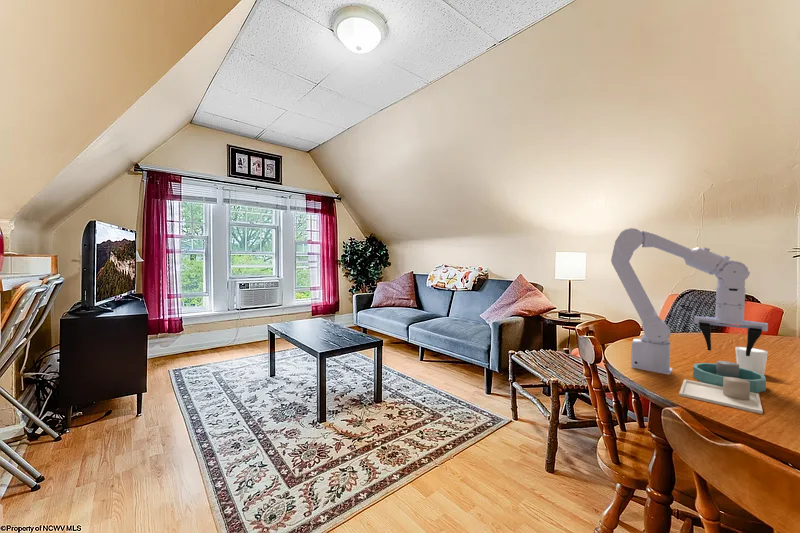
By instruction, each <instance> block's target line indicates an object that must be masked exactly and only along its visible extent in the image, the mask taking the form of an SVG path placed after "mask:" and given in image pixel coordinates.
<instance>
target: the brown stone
mask: <svg viewBox="0 0 800 533" xmlns="http://www.w3.org/2000/svg"><path fill="white" fill-rule="evenodd" d="M723 395H725V396H727V397H730V398H733V399H738V400H749V398H750V382H749V381H747V380H744V379H740V378H735V377H724V378H723Z"/></svg>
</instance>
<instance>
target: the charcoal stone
mask: <svg viewBox="0 0 800 533" xmlns="http://www.w3.org/2000/svg"><path fill="white" fill-rule="evenodd" d="M715 364H716V375H719V376H725V377H735V378H739V366H740V365H739V364H737V362H731V361H726V360H716V363H715Z"/></svg>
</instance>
